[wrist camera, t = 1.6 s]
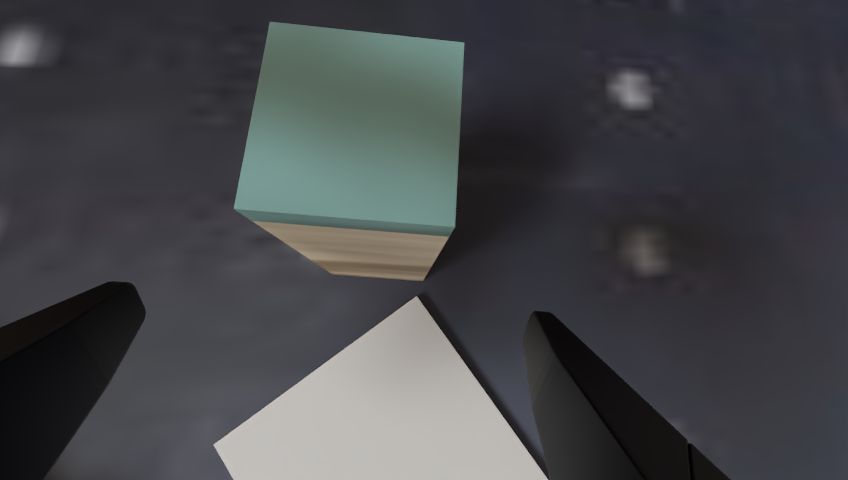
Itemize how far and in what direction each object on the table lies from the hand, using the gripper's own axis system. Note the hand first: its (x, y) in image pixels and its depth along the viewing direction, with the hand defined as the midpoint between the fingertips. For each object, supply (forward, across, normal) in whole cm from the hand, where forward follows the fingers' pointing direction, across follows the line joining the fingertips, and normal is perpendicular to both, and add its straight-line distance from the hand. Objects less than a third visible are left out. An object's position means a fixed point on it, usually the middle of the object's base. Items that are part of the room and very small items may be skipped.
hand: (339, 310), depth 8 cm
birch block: (+11, 0, +5) cm, 12 cm away
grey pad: (+3, -2, +13) cm, 14 cm away
